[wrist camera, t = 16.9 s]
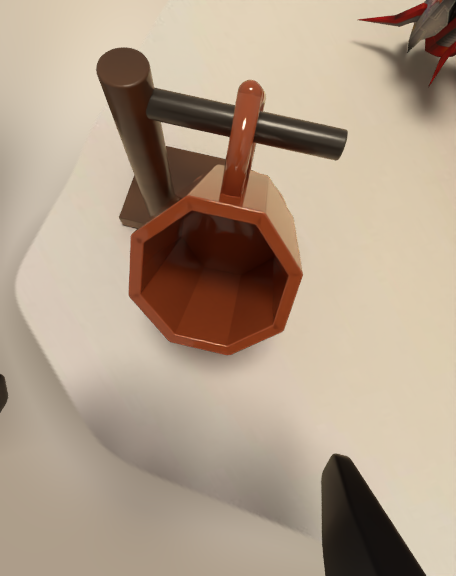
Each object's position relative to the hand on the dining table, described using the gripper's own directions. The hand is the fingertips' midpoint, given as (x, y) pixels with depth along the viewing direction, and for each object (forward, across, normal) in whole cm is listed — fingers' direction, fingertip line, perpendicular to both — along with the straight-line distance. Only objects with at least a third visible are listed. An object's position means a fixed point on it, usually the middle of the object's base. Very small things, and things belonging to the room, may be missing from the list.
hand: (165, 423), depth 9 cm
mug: (+14, 0, -3) cm, 15 cm away
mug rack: (+20, +2, -1) cm, 20 cm away
